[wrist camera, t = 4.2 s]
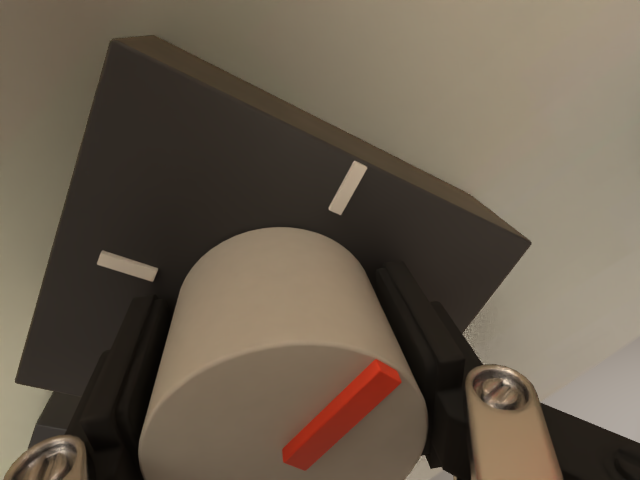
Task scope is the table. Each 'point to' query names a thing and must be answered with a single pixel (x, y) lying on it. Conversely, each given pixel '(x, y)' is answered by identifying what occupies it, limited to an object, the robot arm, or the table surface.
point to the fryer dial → (281, 370)
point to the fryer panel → (232, 204)
